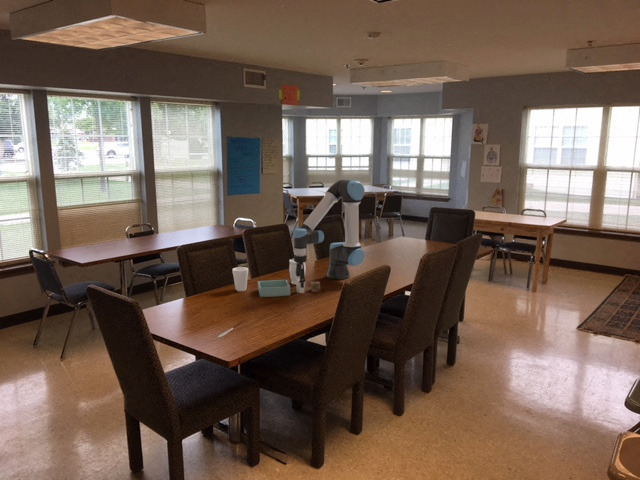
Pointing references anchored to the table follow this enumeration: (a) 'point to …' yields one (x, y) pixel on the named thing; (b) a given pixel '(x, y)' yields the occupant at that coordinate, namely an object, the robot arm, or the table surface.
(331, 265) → the robot arm
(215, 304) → the table surface
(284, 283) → the tote
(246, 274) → the foam cup
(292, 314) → the table surface
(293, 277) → the jar
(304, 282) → the ceramic canister
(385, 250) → the table surface
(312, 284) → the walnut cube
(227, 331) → the butter knife
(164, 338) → the table surface
